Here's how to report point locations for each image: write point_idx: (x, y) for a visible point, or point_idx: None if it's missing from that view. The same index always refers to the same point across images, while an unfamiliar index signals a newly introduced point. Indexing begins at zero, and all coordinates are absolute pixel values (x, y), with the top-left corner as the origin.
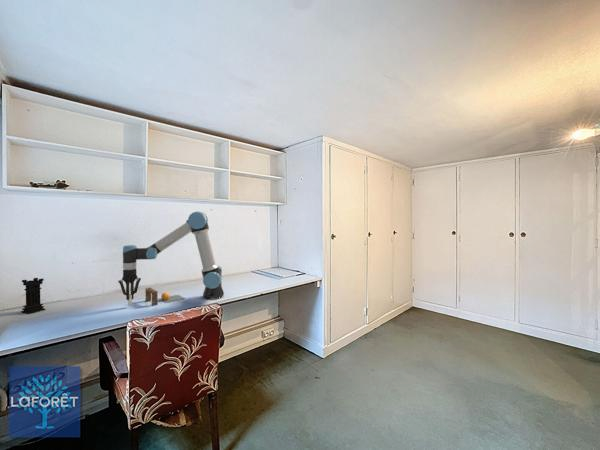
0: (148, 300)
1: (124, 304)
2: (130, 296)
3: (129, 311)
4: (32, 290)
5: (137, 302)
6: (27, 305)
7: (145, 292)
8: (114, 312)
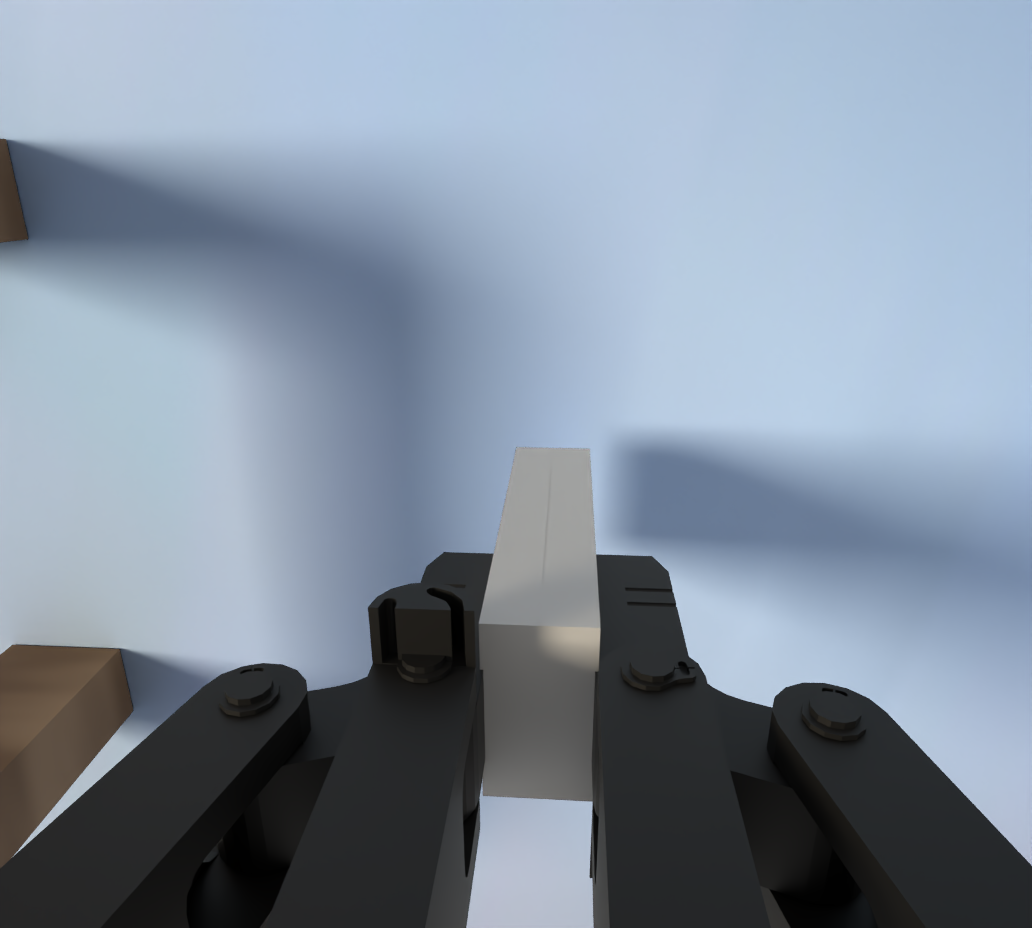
0: (57, 663)
1: None
2: (542, 592)
3: (689, 64)
4: None
5: None
6: None
7: None
8: (1018, 304)
